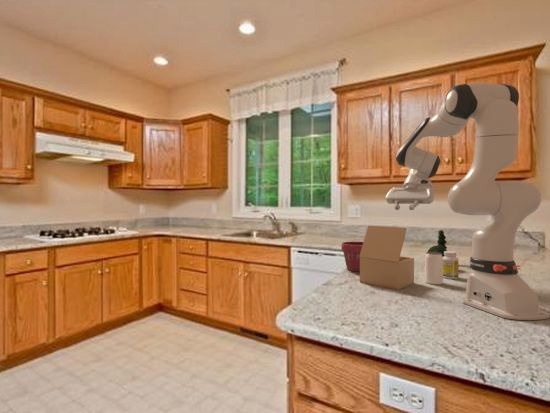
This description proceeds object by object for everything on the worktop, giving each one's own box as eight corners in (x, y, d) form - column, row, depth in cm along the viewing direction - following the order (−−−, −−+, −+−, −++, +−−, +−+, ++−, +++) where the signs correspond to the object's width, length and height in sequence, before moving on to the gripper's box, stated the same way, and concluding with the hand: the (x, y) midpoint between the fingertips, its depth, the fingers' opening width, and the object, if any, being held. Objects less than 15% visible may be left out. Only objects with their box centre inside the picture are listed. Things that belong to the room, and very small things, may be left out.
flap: (368, 226, 135) (368, 225, 135) (406, 228, 124) (406, 227, 123) (359, 257, 130) (359, 256, 130) (398, 262, 119) (397, 261, 119)
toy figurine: (431, 265, 174) (424, 269, 153) (432, 229, 175) (425, 229, 154) (451, 267, 168) (446, 271, 148) (452, 230, 170) (447, 229, 149)
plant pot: (335, 268, 158) (335, 242, 158) (358, 265, 164) (358, 240, 164) (354, 274, 145) (354, 245, 145) (378, 271, 151) (378, 243, 151)
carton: (376, 276, 140) (377, 253, 140) (413, 283, 129) (414, 258, 129) (359, 282, 130) (359, 257, 130) (398, 289, 119) (398, 262, 119)
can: (445, 285, 125) (445, 254, 125) (427, 284, 126) (427, 254, 126) (440, 281, 132) (440, 252, 131) (423, 280, 133) (423, 251, 133)
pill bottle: (454, 276, 141) (454, 250, 140) (461, 279, 134) (461, 253, 134) (439, 275, 141) (439, 250, 141) (445, 279, 135) (445, 252, 135)
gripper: (389, 182, 152) (379, 203, 146) (434, 180, 138) (425, 203, 131) (393, 192, 156) (383, 213, 149) (438, 191, 141) (429, 214, 134)
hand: (403, 208), depth 140 cm, fingers open, 5 cm apart
